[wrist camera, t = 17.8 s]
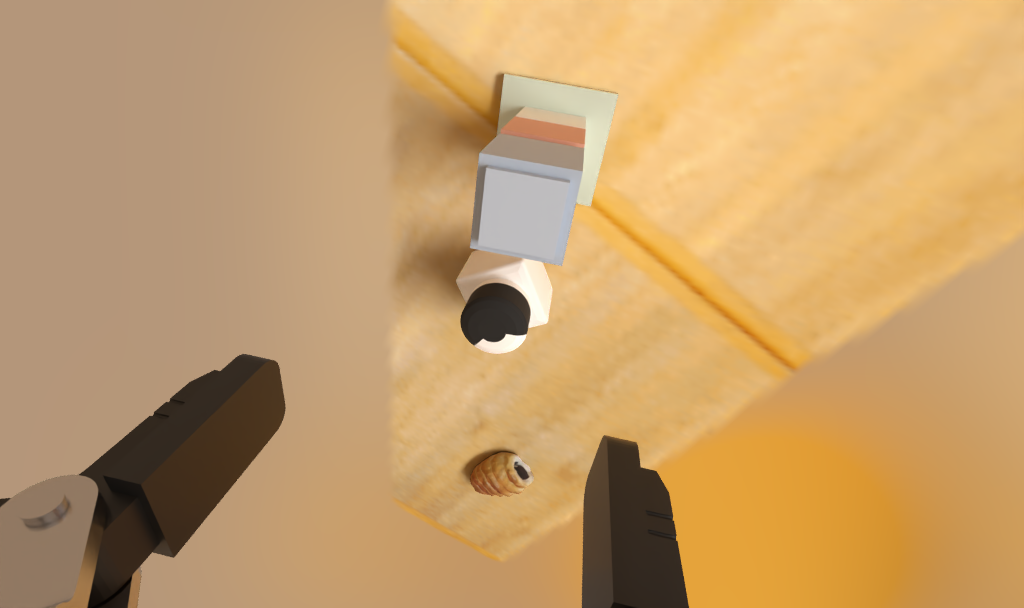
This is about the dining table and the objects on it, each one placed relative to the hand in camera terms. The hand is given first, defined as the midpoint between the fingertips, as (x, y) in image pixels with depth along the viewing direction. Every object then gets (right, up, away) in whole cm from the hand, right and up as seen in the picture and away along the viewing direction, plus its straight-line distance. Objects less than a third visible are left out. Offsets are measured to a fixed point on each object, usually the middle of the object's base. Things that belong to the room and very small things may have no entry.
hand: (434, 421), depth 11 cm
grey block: (+3, +11, +19) cm, 22 cm away
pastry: (+1, -21, +55) cm, 59 cm away
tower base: (+6, +18, +31) cm, 36 cm away
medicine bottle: (+2, +7, +38) cm, 39 cm away
